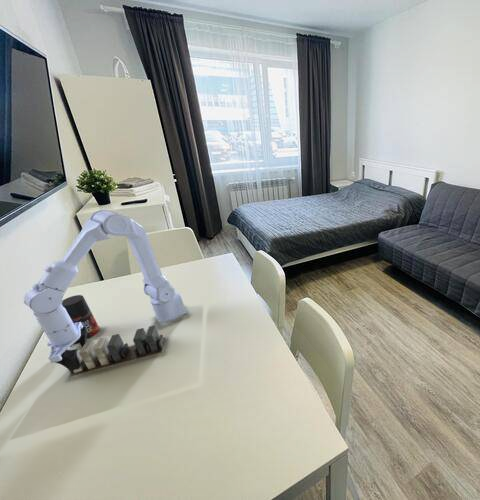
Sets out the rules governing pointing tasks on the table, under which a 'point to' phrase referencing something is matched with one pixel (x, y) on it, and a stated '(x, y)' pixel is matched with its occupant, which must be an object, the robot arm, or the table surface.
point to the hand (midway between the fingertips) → (79, 361)
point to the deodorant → (81, 314)
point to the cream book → (78, 355)
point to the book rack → (119, 350)
